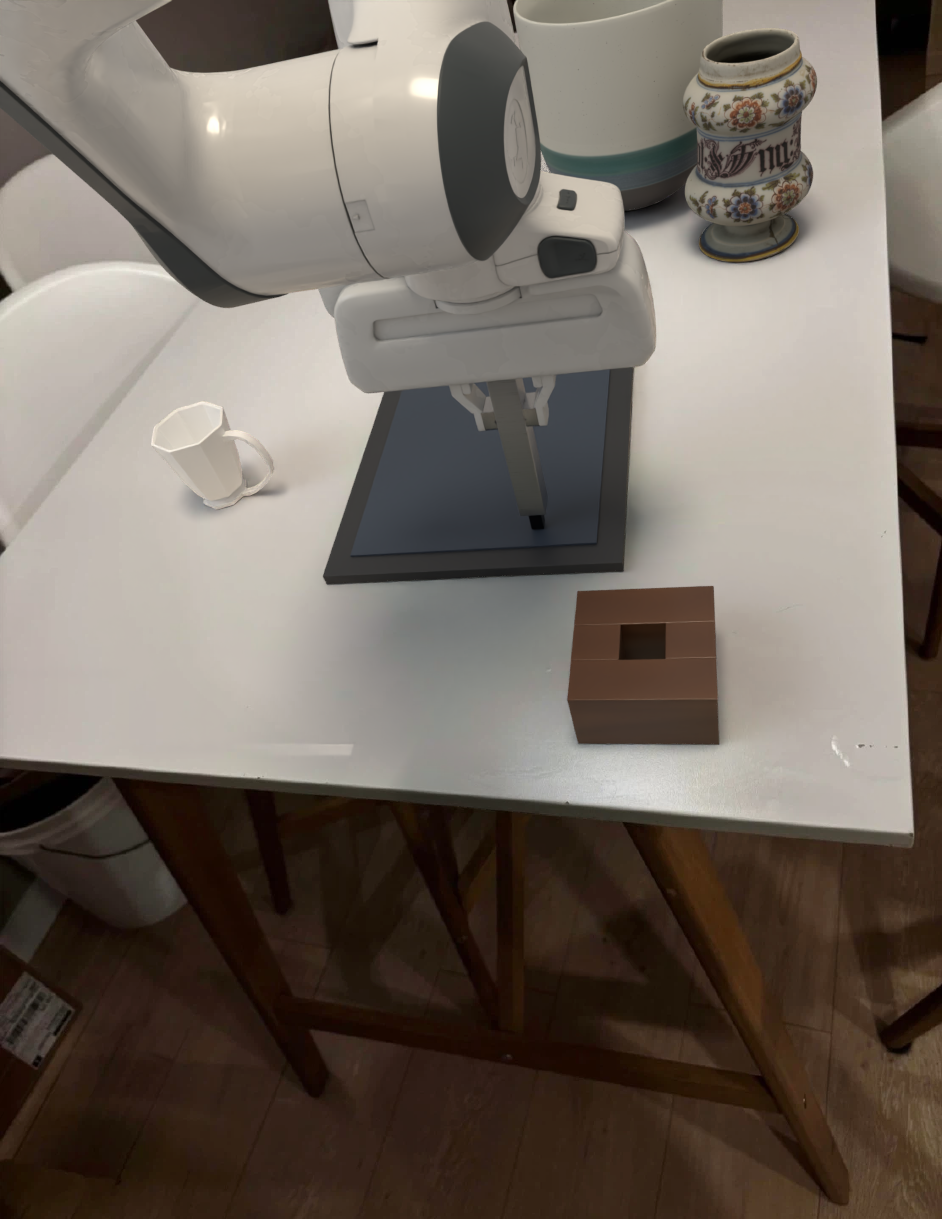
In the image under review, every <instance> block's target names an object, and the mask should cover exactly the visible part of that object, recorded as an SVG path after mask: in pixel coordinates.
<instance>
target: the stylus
mask: <svg viewBox="0 0 942 1219" xmlns="http://www.w3.org/2000/svg"><path fill="white" fill-rule="evenodd" d="M486 383H487V387H488V391H489V395H490V399H491V403H492V407H493V411H494V415H495V419H496V423H497V427H498V431H499V435H500V439H501V443H502V447H503V451H504V455H505V459H506V462H507V466H508V470H509V474H510V478H511V482H512V486H513V490H514V494H515V498H516V502H517V506H518V510H519V514H520V516H528V517H529V521H530V525H531V529H532V530H535V529H544V525H545V518H544V515H545V514H546V508H547V500H548V495H547V490H546V485H545V481H544V476H543V472H542V467H541V462H540V458H539V453H538V448H537V444H536V439H535V434H534V430H533V426H532V427H527V426H526V424H525V418H524V415H523V410H522V409H523V403H524V398H525V388H524V383H523V379H522V378H518V379H508V380H498V381H488V382H486Z"/></svg>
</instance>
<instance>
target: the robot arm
mask: <svg viewBox="0 0 942 1219" xmlns="http://www.w3.org/2000/svg"><path fill="white" fill-rule="evenodd" d="M172 1H173V0H0V109H1V110H2V111H3V112H4V113H5V114H7V115H8V116H9V117H10V118H11V119H12V120H13V121H15V122H16V123H17V124H18V125H19V126H20V127H21V128H22V129H23V130H25V131H26V132H27V133H28V134H29V135H31V136H32V137H33V138H34V139H35V140H36V142H37V141H38V142H39V143H40V144H41V145H42V146H43V147H44V148H45V149H47V150H48V152H50V153H51V154H52V155H53V156H55V158H57V159H58V160H59V161H60V162H61V163H62V164H64V166H66V168H68V169H69V170H71V172H72V173H74V174H75V175H76V176H77V177H78V178H79V179H81V180H82V181H83V182H84V183H85V184H87V185H88V186H89V187H90V188H91V189H92V190H93V191H95V193H96V194H98V195H99V197H101V198H103V199H104V201H106V202H107V203H108V204H109V205H110V206H112V208H114V209H115V210H116V211H117V212H118V213H119V214H120V215H121V216H122V217H123V218H124V219H125V220H126V221H127V222H128V223H129V224H130V226H132V228H133V230H134V231H135V232H136V234H137V235H138V237H139V238H140V240H141V241H142V243H143V244H144V246H145V247H146V248H147V250H148V251H149V253H150V254H151V256H153V258H154V260H156V262H157V263H158V264H159V265H160V266H161V267H162V269H163V270H164V271H165V272H166V273H167V274H168V275H169V276H170V277H171V278H173V280H175V281H176V282H177V283H178V284H179V285H181V286H182V287H183V288H184V289H185V290H187V291H188V292H190V293H191V294H193V295H194V296H196V297H197V298H198V299H200V300H201V301H203V302H205V303H207V304H209V305H211V306H213V307H217V308H222V309H234V308H238V307H242V306H246V305H250V304H251V305H252V304H255V303H260V302H263V301H268V300H272V299H277V298H281V297H284V296H287V295H289V294H292V293H300V292H307V291H314V290H318V292H319V295H320V298H321V300H322V303H323V306H324V308H325V310H326V311H327V313H328V314H329V315H330V316H331V317H332V318H333V320H334V325H335V331H336V338H337V343H338V347H339V351H340V355H341V359H342V363H343V366H344V369H345V373H346V375H347V378H348V380H349V382H350V383H351V385H353V386H354V387H355V388H357V389H358V390H359V391H361V392H362V393H364V394H378V393H384V392H389V391H399V390H409V389H419V388H429V387H439V386H449V387H450V391H451V394H452V396H453V397H454V398H455V399H456V400H457V401H458V402H459V403H460V404H462V405H463V406H464V407H465V408H466V409H467V410H468V411H469V412H471V413H474V417H475V420H476V424H477V428H478V430H479V431H489V430H498V427H497V423H496V419H495V415H494V411H493V407H492V403H491V399H490V396H489V397H486V396H485V395H484V393H483V392H482V391H481V390H480V389H479V388H478V387H477V386H476V385H475V384H474V383H478V382H488V381H498V380H508V379H518V378H528V377H532V381H533V385H534V387H536V388H537V387H538V388H537V390H536V392H531V393H525V398H524V403H523V409H522V410H523V415H524V418H525V424H526V426H527V427H532V426H546V425H547V424H548V417H549V408H548V403H547V401H548V399H549V397H550V395H551V393H552V391H553V389H554V387H555V381H556V375H558V374H568V373H577V372H587V371H597V370H607V369H617V368H628V367H634V368H637V367H642V366H644V365H645V364H646V363H647V362H648V361H649V359H650V358H651V357H652V356H653V354H654V353H655V351H656V349H657V348H656V347H657V320H656V311H655V303H654V297H653V292H652V286H651V285H652V284H651V280H650V277H649V273H648V268H647V265H646V262H645V258H644V255H643V252H642V250H641V247H640V245H639V243H638V242H637V241H636V239H635V238H634V237H633V235H631V233H629V232H628V231H626V230H625V220H626V219H625V211H624V206H623V200H622V196H621V192H620V190H619V188H618V187H617V186H615V185H613V184H611V183H607V182H602V181H595V180H589V179H582V178H576V177H570V176H564V175H558V174H553V173H550V171H549V172H548V171H543V170H542V152H541V146H540V137H539V130H538V123H537V117H536V111H535V104H534V98H533V92H532V86H531V79H530V73H529V67H528V61H527V57H526V56H525V55H524V54H523V53H522V52H521V50H520V47H519V46H518V45H517V41H516V38H515V32H514V26H513V23H512V18H511V13H510V9H509V8H510V7H509V4H508V0H327V3H328V8H329V12H330V13H329V14H330V17H331V22H332V28H333V32H334V36H335V40H336V45H337V49H333V50H332V49H331V50H327V51H323V52H318V53H314V54H310V55H309V54H308V55H305V56H301V57H295V58H291V59H286V60H282V61H277V62H273V63H268V64H263V65H258V66H252V67H248V68H244V69H238V70H231V71H218V72H217V71H216V72H194V71H193V72H192V71H184V70H180V69H175V68H173V67H170V66H169V64H168V63H167V61H166V59H164V57H163V56H162V54H161V53H160V52H159V50H158V49H157V48H156V47H155V45H154V44H153V42H152V41H151V40H150V38H149V36H147V34H146V33H145V31H144V29H142V27H141V25H140V24H139V23H138V21H137V20H139V19H142V18H143V17H145V16H146V15H148V14H150V13H152V12H153V11H155V10H158V9H159V8H161V7H163V6H165V5H168V4H169V3H170V2H172Z"/></svg>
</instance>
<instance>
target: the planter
mask: <svg viewBox="0 0 942 1219" xmlns="http://www.w3.org/2000/svg"><path fill="white" fill-rule="evenodd" d="M723 4H724V2H723V0H515V1H514V4H513V6H512V7H513V10H512V11H513V19H514V23H515V29H516V36H517V41H518V48H519V49H520V50H521V52H522V53H523V54H524V55H525V56H526V57H527V61H528V67H529V73H530V79H531V86H532V92H533V98H534V104H535V111H536V117H537V123H538V130H539V137H540V146H541V156H542V158H543V160H544V162H545V164H546V167H547V168H548V171H549V173H553V174H558V175H564V176H570V177H576V178H582V179H589V180H595V181H602V182H607V183H611V184H613V185H615V186H617V187H618V188H619V190H620V192H621V196H622V200H623V206H624V212H627V211H635V210H639V209H643V208H647V207H649V206H650V207H651V206H652V205H655V204H658V203H660V202H662V201H664V200H666V199H667V198H669V197H670V196H672V195H674V194H675V193H676V192H677V191H679V190H680V189H681V188H682V187H684V186H685V185H686V181H687V179H688V177H689V175H690V173H691V171H692V170H693V169H694V167H695V166H696V165H697V126H695V125H694V124H693V123H691V122H690V121H689V120H688V118H687V117H686V115H685V113H684V109H683V97H684V93H685V91H686V88H687V86H688V85H689V83H690V82H691V80H692V79H693V78H694V77H695V75H696V74H697V73H698V72H699V68H700V66H701V64H700V61H701V54H702V51H703V50H704V48H705V47H706V46H707V45H708V44H709V43H711V42H713V41H714V40H716V39H718V38H720V37H723V36H724V35H723V32H724V30H723V29H724V28H723V26H724V25H723V24H724V23H723V22H724V21H723V20H724V19H723V18H724V17H723V16H724V14H723V9H724V8H723Z"/></svg>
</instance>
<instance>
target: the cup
mask: <svg viewBox="0 0 942 1219" xmlns="http://www.w3.org/2000/svg"><path fill="white" fill-rule="evenodd" d="M151 435H152V436H151V441H150V446H151V448H153V450H154V451H156V453H157V454H158V456H160V458H161V459H162V460H163V461H164V462H165V463H166V464H167V466H168V467H169V468H170V469H171V470H172V471H173V472H174V473H175V475H176V476H177V477H178V478H179V479H180V480H181V482H182V483H183V484H185V485H186V486H187V487H188V488H189V489H190V490H191V491H192V492H194V493H195V495H197V496H198V497H200V498H202V499H203V504H204V506H207V507H209V508H212V509H213V510H216V511H217V510H220V509H225V508H228V507H231V506H234V505H236V503H237V502H239V501H240V500H241V499H242V498H243V497H250V496H253V495H254V494H256V493H258V492H260V491H261V490H262V489H263V488H264V487H265V486H266V485H267V484H268V483H269V481H270V480H271V478H272V476H273V474H274V472H275V464H274V460H273V458H272V456H271V454H270V452H269V451H268V450H267V448H266V447H265V446H264V445H263V444H262V442H261V441H260V440H259V439H257V438H256V437H254V436H253V435H252V434H250V433H248V432H246V431H242V430H236V429H231V427H230V424H229V420H228V418H227V414H226V412H225V409H224V406H221V405H218V404H215V403H212V402H209V401H206V400H202V401H199V402H198V401H197V402H195V403H191V404H188V405H184V406H181V407H177V408H175V409H174V410H173V411H171V412H169V414H168V415H166V416H165V417H164V418H163V419H161V420H160V421H159V422H158V423H157V424H156V425H154V426H153V429H152V434H151ZM237 440H239V441H242V442H244V443H245V444H246V445H249V446H250V447H252V448H253V449H254V450H255V451H256V452H257V454H258V455H259V456H260V457H261V458H262V460H263V462H264V463H265V465H266V469H267V475H266V476H265V477H264V478H263V479H262V480H261V481H260V482H259V483H258V484H256V485H253V486H251V487H247V484H248V481H247V480H246V479H245V478H243V468H242V463H241V459H240V454H239V451H238V447H237V445H236V442H235V441H237Z"/></svg>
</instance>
